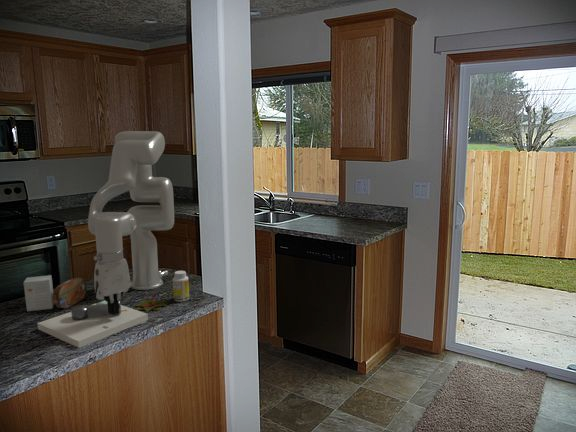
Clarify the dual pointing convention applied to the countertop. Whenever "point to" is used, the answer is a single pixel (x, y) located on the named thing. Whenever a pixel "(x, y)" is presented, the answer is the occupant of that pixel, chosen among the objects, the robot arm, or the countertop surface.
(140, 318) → the base
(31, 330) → the countertop surface
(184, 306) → the countertop surface
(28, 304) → the small box
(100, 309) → the grey knobbed bar
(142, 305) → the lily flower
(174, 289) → the supplement bottle
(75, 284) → the tin
